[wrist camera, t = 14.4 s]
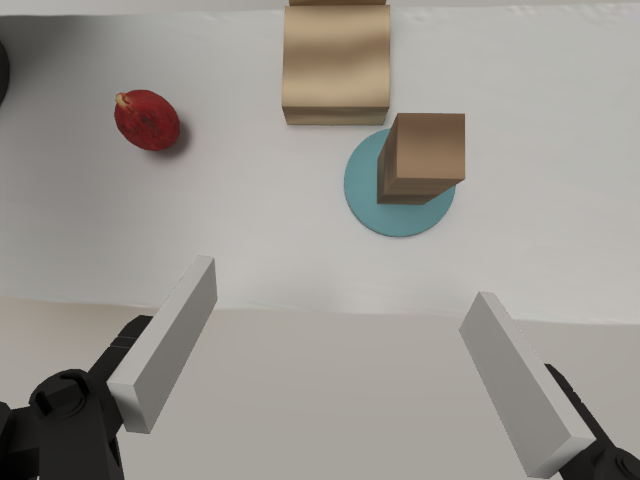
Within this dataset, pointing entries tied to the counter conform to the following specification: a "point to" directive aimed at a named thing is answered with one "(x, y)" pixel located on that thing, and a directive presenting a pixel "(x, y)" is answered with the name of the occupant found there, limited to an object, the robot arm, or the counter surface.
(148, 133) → the onion
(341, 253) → the counter surface
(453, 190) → the teal flattened ellipsoid
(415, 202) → the block
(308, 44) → the ledge
